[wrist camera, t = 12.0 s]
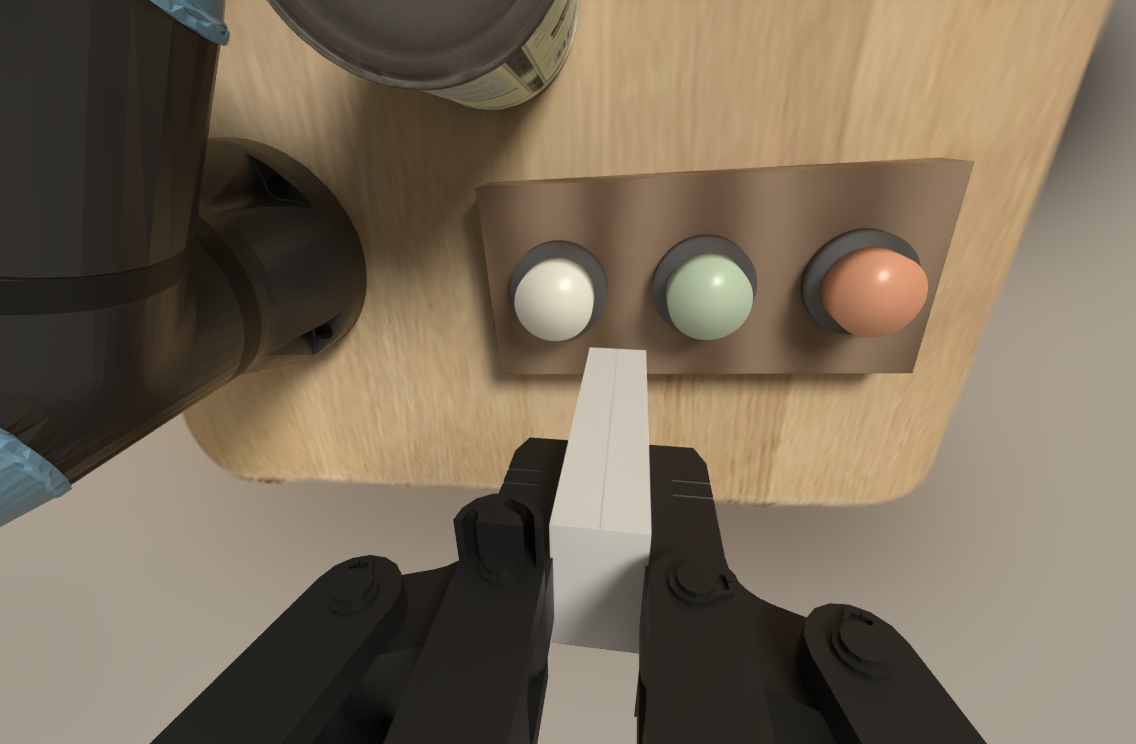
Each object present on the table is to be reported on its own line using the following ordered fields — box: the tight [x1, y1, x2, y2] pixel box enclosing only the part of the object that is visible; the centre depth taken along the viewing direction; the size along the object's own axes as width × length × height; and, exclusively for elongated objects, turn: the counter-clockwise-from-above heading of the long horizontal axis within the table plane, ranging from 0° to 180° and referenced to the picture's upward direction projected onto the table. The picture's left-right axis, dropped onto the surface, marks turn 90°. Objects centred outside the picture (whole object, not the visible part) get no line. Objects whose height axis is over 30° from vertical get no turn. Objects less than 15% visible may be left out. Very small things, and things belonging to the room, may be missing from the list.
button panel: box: [476, 158, 974, 374], centre depth 30 cm, size 26×12×4 cm, turn 94°
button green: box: [666, 252, 753, 340], centre depth 27 cm, size 4×4×2 cm
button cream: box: [515, 257, 595, 341], centre depth 28 cm, size 4×4×2 cm
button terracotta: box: [821, 246, 928, 338], centre depth 26 cm, size 4×4×2 cm
